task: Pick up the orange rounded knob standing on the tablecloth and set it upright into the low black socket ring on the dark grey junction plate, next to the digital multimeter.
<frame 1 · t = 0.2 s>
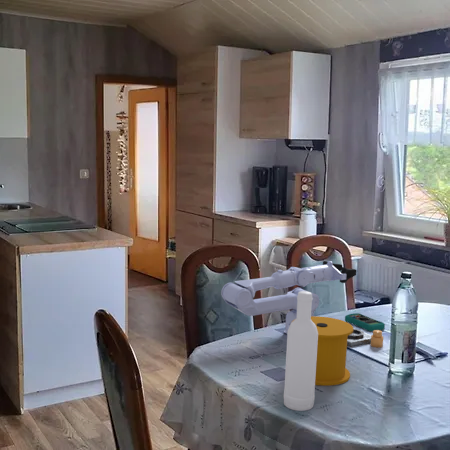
hand: (348, 269, 227), 22 cm above the table, tool horizontal, fingers open, 7 cm apart
bottle: (298, 405, 163), on the table
orange rounded knob: (376, 345, 211), on the table
spool: (319, 374, 184), on the table
junction plate: (351, 338, 217), on the table
digital multimeter: (364, 326, 234), on the table
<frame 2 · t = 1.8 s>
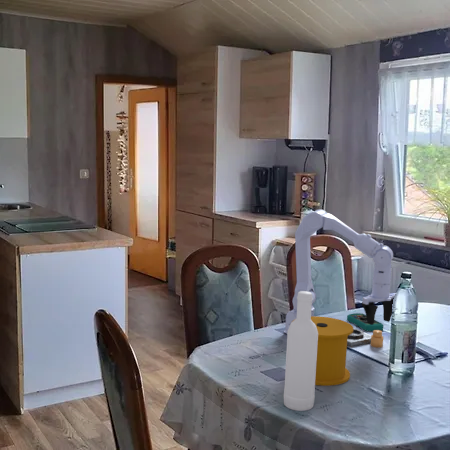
hand: (378, 322, 210), 8 cm above the table, tool pointing down, fingers open, 7 cm apart
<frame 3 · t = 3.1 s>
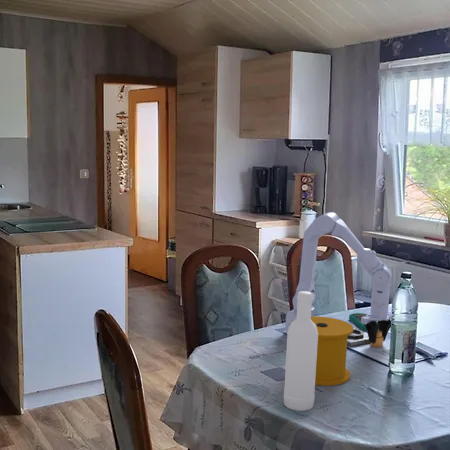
hand: (376, 341, 211), 1 cm above the table, tool pointing down, fingers closed on orange rounded knob, 4 cm apart
orange rounded knob: (376, 345, 211), on the table, touching gripper
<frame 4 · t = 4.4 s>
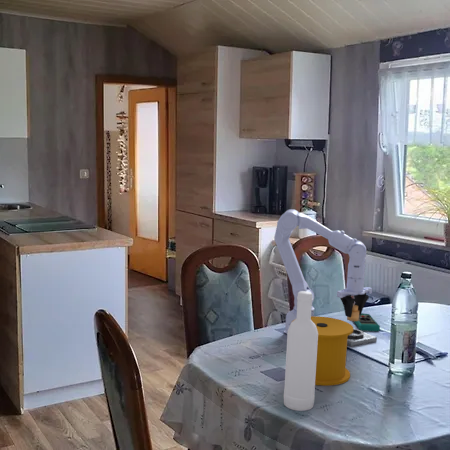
hand: (353, 315, 215), 8 cm above the table, tool pointing down, fingers closed on orange rounded knob, 4 cm apart
orange rounded knob: (352, 319, 216), point 7 cm above the table, touching gripper
when the fingers open (4 cm above the table, at t = 5.8 s): orange rounded knob drops 1 cm, resting on junction plate.
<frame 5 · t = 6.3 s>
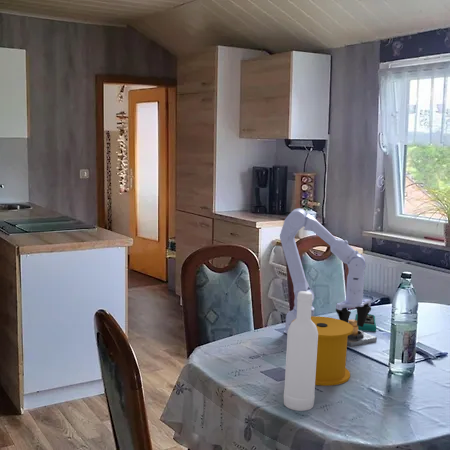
hand: (352, 327, 216), 4 cm above the table, tool pointing down, fingers open, 7 cm apart
orange rounded knob: (351, 334, 216), point 1 cm above the table, touching junction plate
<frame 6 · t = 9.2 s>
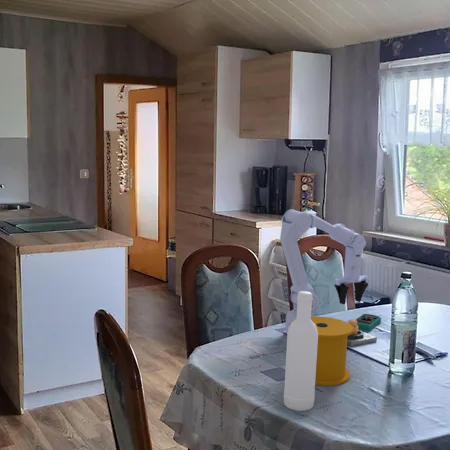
hand: (350, 302, 226), 10 cm above the table, tool pointing down, fingers open, 7 cm apart
at the end: orange rounded knob 0.0 cm off-centre on the junction plate, point 1.5 cm above the junction plate's base; orange rounded knob tilted 0°; the gripper is holding nothing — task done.
